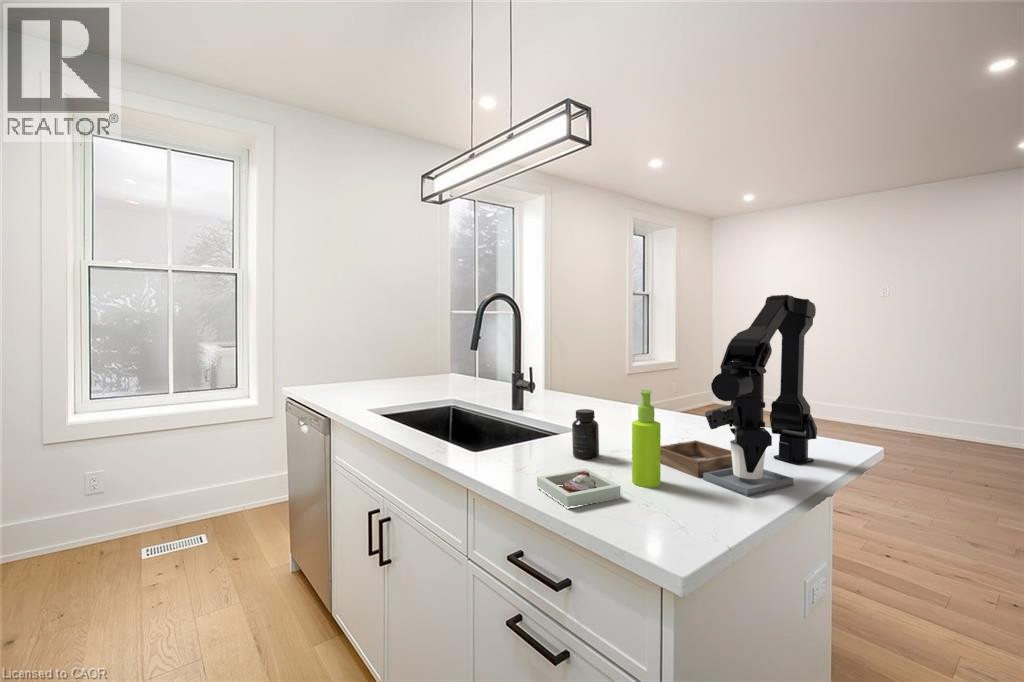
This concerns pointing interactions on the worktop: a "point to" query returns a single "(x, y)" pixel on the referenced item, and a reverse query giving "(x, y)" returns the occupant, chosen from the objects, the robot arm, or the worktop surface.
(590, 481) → the pastry
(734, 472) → the white tapered cup
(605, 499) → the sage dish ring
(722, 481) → the charcoal tray
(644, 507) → the worktop surface
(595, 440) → the supplement bottle
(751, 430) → the robot arm
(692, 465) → the walnut bin
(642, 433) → the soap dispenser
